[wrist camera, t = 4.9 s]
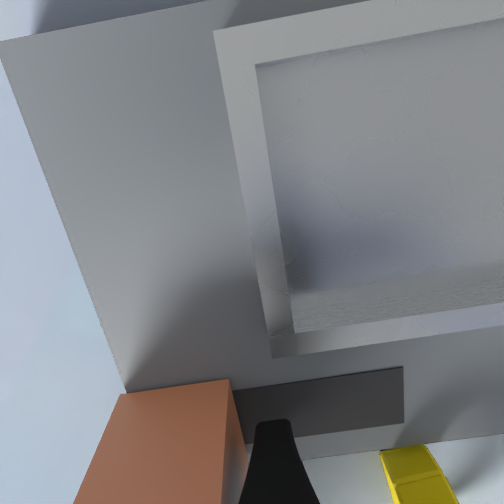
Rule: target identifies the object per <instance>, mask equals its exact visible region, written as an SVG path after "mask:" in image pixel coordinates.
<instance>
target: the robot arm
mask: <svg viewBox="0 0 504 504" xmlns="http://www.w3.org/2000/svg"><path fill="white" fill-rule="evenodd" d="M238 504H320V503H319V500H318V498H317V496H316V494H315V492H314V489H313V487H312V485H311V483H310V481H309V478H308V476H307V473H306V471H305V469H304V466H303V463H302V461H301V458H300V455H299V453H298V450H297V447H296V444H295V440H294V437H293V433H292V428H291V422H290V421H289V420H287V419H286V418H285V419H277V420H270V421H263V422H259V423H258V424H257V425H256V428H255V437H254V443H253V448H252V453H251V458H250V462H249V466H248V470H247V475H246V479H245V482H244V486H243V489H242V493H241V496H240V500H239V503H238Z"/></svg>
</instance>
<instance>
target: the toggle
mask: <svg viewBox="0 0 504 504" xmlns="http://www.w3.org/2000/svg"><path fill="white" fill-rule="evenodd" d="M247 470H248V456H247V452H246V448H245V443H244V439H243V435H242V431H241V427H240V423H239V419H238V415H237V410H236V406H235V402H234V398H233V394H232V390H231V386H230V381H229V379H224V380H217V381H210V382H203V383H196V384H189V385H182V386H175V387H168V388H161V389H155V390H148V391H141V392H134V393H127V394H120V396H119V398H118V401H117V403H116V405H115V408H114V410H113V412H112V415H111V417H110V419H109V422H108V424H107V426H106V429H105V431H104V433H103V436H102V438H101V440H100V442H99V445H98V447H97V449H96V452H95V454H94V456H93V459H92V461H91V463H90V466H89V468H88V470H87V473H86V475H85V477H84V480H83V482H82V484H81V487H80V489H79V491H78V494H77V496H76V498H75V501H74V503H73V504H238V503H239V500H240V496H241V493H242V489H243V486H244V482H245V479H246V475H247Z"/></svg>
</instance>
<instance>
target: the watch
mask: <svg viewBox="0 0 504 504" xmlns="http://www.w3.org/2000/svg"><path fill="white" fill-rule="evenodd" d="M379 457H380V458H381V461H382V464H383V468H384V471H385V475H386V478H387V481H388V485H389V488H390V491H391V495H392V498H393V502H394V504H459V502H458V500H457V498H456V496H455V494H454V492H453V490H452V488H451V486H450V485H449V483H448V481H447V479H446V477H445V476H444V474H443V471H442V470H441V468H440V467H439V465H438V464H437V462H436V461H435V459H434V458H433V456H432V455H431V453H430V451H429V450H428V448H426V446H424V445H423V444H421V445H413V446H406V447H398V448H392V449H388V450H384V451H381V452H380V454H379Z"/></svg>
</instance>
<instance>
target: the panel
mask: <svg viewBox="0 0 504 504" xmlns="http://www.w3.org/2000/svg"><path fill="white" fill-rule="evenodd" d="M364 1H369V0H206V1H201V2H196V3H191V4H186V5H181V6H176V7H171V8H166V9H161V10H156V11H151V12H146V13H141V14H136V15H131V16H125V17H120V18H115V19H110V20H105V21H100V22H95V23H90V24H85V25H80V26H75V27H70V28H65V29H60V30H55V31H50V32H45V33H40V34H34V35H29V36H24V37H19V38H14V39H9V40H4V41H0V59H1V62H2V64H3V67H4V70H5V72H6V75H7V77H8V80H9V83H10V85H11V88H12V91H13V93H14V96H15V99H16V101H17V104H18V106H19V109H20V112H21V114H22V117H23V120H24V122H25V125H26V128H27V130H28V133H29V136H30V138H31V141H32V143H33V146H34V149H35V151H36V154H37V157H38V159H39V162H40V165H41V167H42V170H43V173H44V175H45V178H46V180H47V183H48V186H49V188H50V191H51V194H52V196H53V199H54V202H55V204H56V207H57V210H58V212H59V215H60V217H61V220H62V223H63V225H64V228H65V231H66V233H67V236H68V239H69V241H70V244H71V247H72V249H73V252H74V254H75V257H76V260H77V262H78V265H79V268H80V270H81V273H82V276H83V278H84V281H85V284H86V286H87V289H88V291H89V294H90V297H91V299H92V302H93V305H94V307H95V310H96V313H97V315H98V318H99V321H100V323H101V326H102V328H103V331H104V334H105V336H106V339H107V342H108V344H109V347H110V350H111V352H112V355H113V358H114V360H115V363H116V365H117V368H118V371H119V373H120V376H121V379H122V381H123V384H124V387H125V389H126V392H127V393H134V392H141V391H148V390H155V389H161V388H168V387H175V386H182V385H189V384H196V383H203V382H210V381H217V380H224V379H229V381H230V386H231V390H232V394H233V398H234V402H235V406H236V410H237V415H238V419H239V423H240V427H241V431H242V435H243V439H244V443H245V448H246V452H247V456H248V466H249V462H250V458H251V453H252V448H253V443H254V437H255V428H256V425H257V424H258V423H259V422H263V421H270V420H277V419H285V418H286V419H287V420H289V421H290V422H291V428H292V433H293V437H294V440H295V444H296V447H297V450H298V453H299V455H300V458H301V460H306V459H314V458H322V457H329V456H337V455H345V454H352V453H360V452H367V451H375V450H383V449H390V448H398V447H406V446H413V445H421V444H429V443H436V442H444V441H451V440H459V439H467V438H474V437H482V436H490V435H497V434H504V325H501V326H494V327H487V328H480V329H473V330H467V331H460V332H453V333H446V334H439V335H432V336H425V337H419V338H412V339H405V340H398V341H391V342H384V343H377V344H371V345H364V346H357V347H350V348H343V349H336V350H329V351H323V352H316V353H309V354H302V355H295V356H288V357H281V358H274V359H272V354H271V349H270V343H269V338H268V332H267V327H266V321H265V316H264V310H263V305H262V299H261V294H260V288H259V283H258V277H257V272H256V266H255V261H254V255H253V250H252V244H251V239H250V233H249V228H248V222H247V217H246V211H245V206H244V200H243V195H242V189H241V184H240V178H239V173H238V167H237V162H236V156H235V151H234V145H233V140H232V134H231V129H230V123H229V118H228V112H227V107H226V101H225V96H224V90H223V85H222V79H221V74H220V68H219V63H218V57H217V52H216V46H215V41H214V35H213V31H214V30H219V29H225V28H230V27H235V26H240V25H245V24H250V23H256V22H261V21H266V20H271V19H276V18H281V17H287V16H292V15H297V14H302V13H307V12H312V11H318V10H323V9H328V8H333V7H338V6H343V5H349V4H354V3H359V2H364Z"/></svg>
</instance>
